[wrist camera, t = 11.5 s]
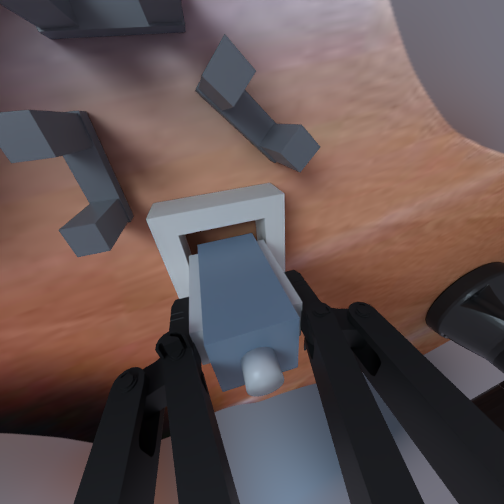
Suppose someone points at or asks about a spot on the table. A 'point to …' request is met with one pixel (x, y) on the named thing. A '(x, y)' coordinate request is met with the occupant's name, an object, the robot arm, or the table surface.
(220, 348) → the connector
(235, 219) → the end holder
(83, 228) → the clip
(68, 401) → the table surface
